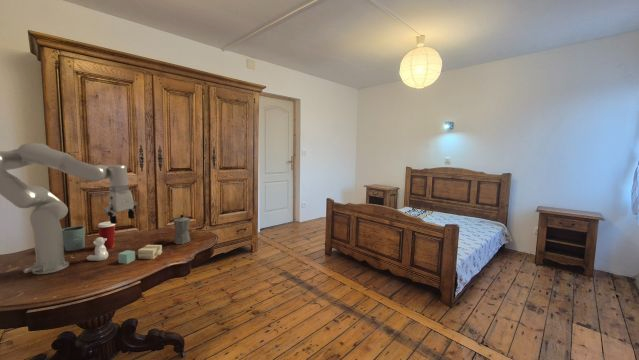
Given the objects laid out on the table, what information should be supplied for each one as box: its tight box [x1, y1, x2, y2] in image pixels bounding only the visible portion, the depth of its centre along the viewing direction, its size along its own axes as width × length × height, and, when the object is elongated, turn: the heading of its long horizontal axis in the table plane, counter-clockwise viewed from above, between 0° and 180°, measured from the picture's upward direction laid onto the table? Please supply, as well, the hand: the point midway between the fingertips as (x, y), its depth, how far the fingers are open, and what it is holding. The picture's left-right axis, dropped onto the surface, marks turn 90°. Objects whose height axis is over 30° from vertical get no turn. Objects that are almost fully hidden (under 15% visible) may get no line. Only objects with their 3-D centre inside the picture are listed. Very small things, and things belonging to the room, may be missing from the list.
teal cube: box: [117, 250, 136, 265], centre depth 138 cm, size 5×5×5 cm
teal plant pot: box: [62, 225, 86, 252], centre depth 153 cm, size 10×10×12 cm
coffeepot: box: [173, 214, 191, 245], centre depth 169 cm, size 15×9×18 cm, turn 27°
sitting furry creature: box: [86, 236, 109, 262], centre depth 140 cm, size 10×9×12 cm
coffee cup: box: [97, 220, 116, 250], centre depth 155 cm, size 8×8×15 cm
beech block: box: [137, 244, 163, 260], centre depth 146 cm, size 8×8×5 cm
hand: (122, 220), depth 138 cm, fingers open, 9 cm apart
